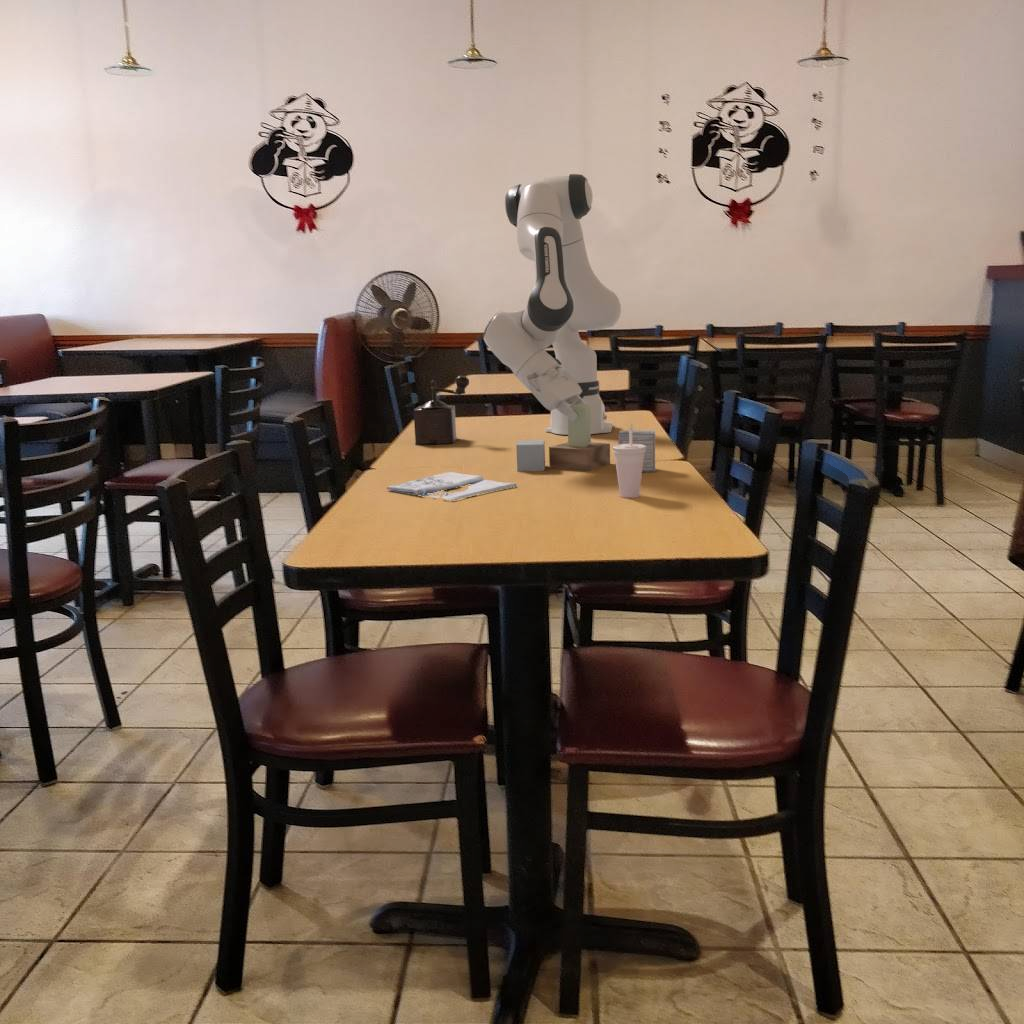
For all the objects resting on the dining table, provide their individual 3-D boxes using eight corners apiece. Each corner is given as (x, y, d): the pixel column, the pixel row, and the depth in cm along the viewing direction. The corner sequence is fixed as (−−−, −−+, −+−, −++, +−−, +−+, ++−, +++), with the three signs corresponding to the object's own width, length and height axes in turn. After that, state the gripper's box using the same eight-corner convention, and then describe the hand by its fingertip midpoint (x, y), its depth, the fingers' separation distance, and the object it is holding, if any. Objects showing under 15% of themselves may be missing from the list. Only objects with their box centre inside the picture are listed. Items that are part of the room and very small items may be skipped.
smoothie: (625, 500, 180) (624, 427, 176) (606, 495, 185) (605, 423, 182) (653, 496, 182) (653, 423, 179) (633, 491, 188) (633, 420, 185)
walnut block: (573, 462, 224) (572, 441, 223) (610, 465, 218) (609, 443, 217) (549, 469, 216) (549, 447, 215) (587, 472, 210) (587, 450, 209)
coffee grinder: (413, 445, 255) (409, 377, 251) (420, 439, 266) (416, 374, 262) (471, 444, 254) (468, 376, 250) (475, 437, 265) (472, 372, 260)
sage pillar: (573, 442, 219) (573, 403, 217) (590, 443, 218) (590, 404, 215) (568, 446, 215) (568, 406, 213) (585, 447, 213) (585, 407, 211)
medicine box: (654, 468, 211) (654, 429, 209) (655, 472, 206) (655, 432, 204) (618, 469, 212) (618, 430, 210) (618, 472, 207) (618, 433, 205)
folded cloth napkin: (454, 478, 210) (454, 469, 209) (519, 490, 196) (519, 479, 195) (385, 493, 197) (384, 483, 196) (449, 506, 183) (448, 495, 182)
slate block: (519, 466, 219) (518, 440, 218) (545, 466, 219) (544, 440, 217) (517, 471, 213) (516, 445, 212) (544, 471, 213) (543, 444, 211)
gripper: (534, 366, 205) (579, 411, 204) (560, 358, 223) (601, 400, 222) (515, 387, 207) (559, 432, 206) (542, 377, 226) (583, 419, 225)
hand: (581, 415), depth 214 cm, fingers open, 8 cm apart
